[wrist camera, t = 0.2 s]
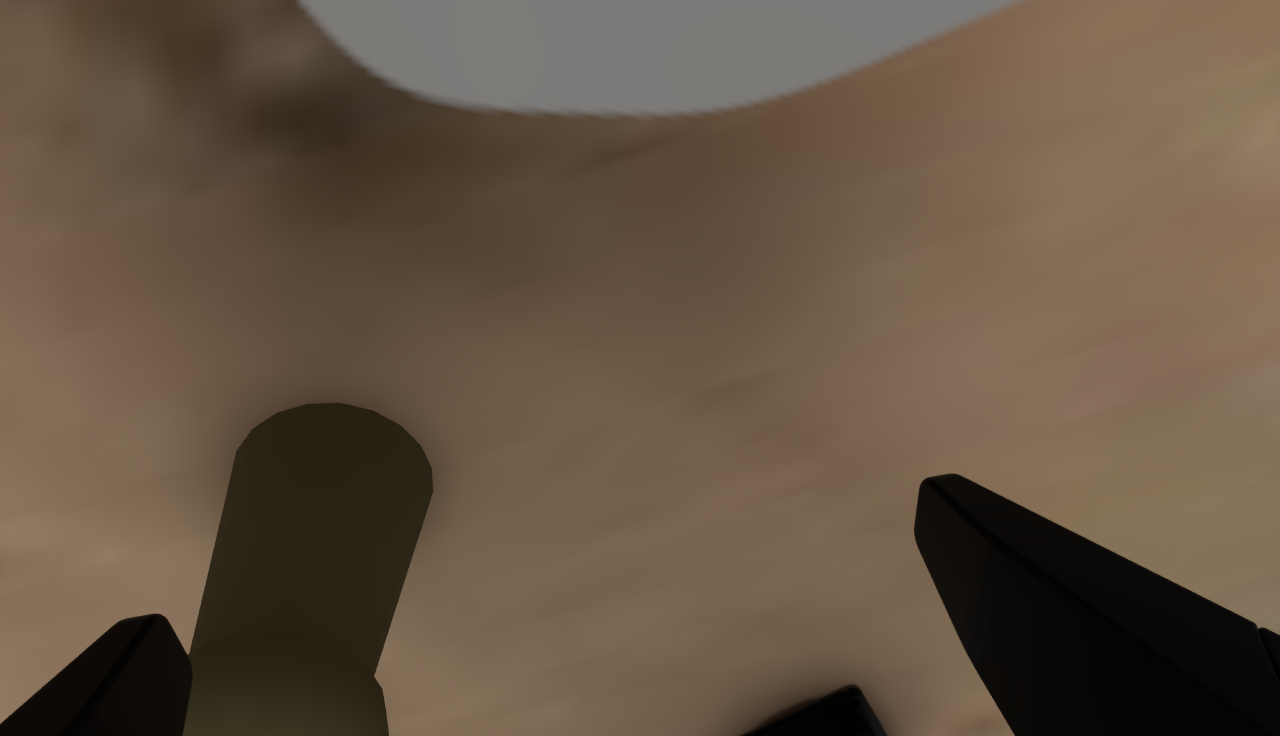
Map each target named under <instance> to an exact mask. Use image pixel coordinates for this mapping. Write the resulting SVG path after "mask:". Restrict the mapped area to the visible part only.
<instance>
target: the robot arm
mask: <svg viewBox="0 0 1280 736" xmlns="http://www.w3.org/2000/svg"><path fill="white" fill-rule="evenodd" d="M914 535H915V540H916V543H917V546H918V549H919V551H920V553H921V555H922V557H923V560H924V562H925V564H926V566H927V568H928V571H929V573H930V575H931V577H932V579H933V582H934V584H935V586H936V588H937V590H938V593H939V595H940V597H941V599H942V601H943V604H944V606H945V608H946V610H947V612H948V615H949V617H950V619H951V621H952V623H953V626H954V628H955V630H956V632H957V634H958V636H959V639H960V641H961V643H962V645H963V647H964V649H965V651H966V653H967V655H968V657H969V658H970V660H971V662H972V664H973V666H974V667H975V669H976V671H977V673H978V674H979V676H980V678H981V679H982V681H983V683H984V684H985V686H986V688H987V690H988V691H989V693H990V695H991V696H992V698H993V700H994V701H995V703H996V705H997V706H998V708H999V710H1000V711H1001V713H1002V715H1003V717H1004V718H1005V720H1006V722H1007V723H1008V725H1009V727H1010V728H1011V730H1012V732H1013V733H1014V735H1015V736H1280V635H1278V634H1276V633H1274V632H1272V631H1270V630H1268V629H1266V628H1263V627H1262V628H1259V629H1258V627H1257V625H1256V624H1255V623H1254V622H1252V621H1250V620H1248V619H1246V618H1244V617H1242V616H1240V615H1238V614H1236V613H1234V612H1232V611H1230V610H1228V609H1226V608H1224V607H1222V606H1220V605H1218V604H1216V603H1214V602H1212V601H1210V600H1208V599H1206V598H1204V597H1202V596H1200V595H1198V594H1196V593H1194V592H1192V591H1190V590H1188V589H1186V588H1184V587H1182V586H1180V585H1178V584H1176V583H1174V582H1172V581H1170V580H1168V579H1166V578H1164V577H1162V576H1160V575H1158V574H1156V573H1154V572H1152V571H1150V570H1148V569H1146V568H1144V567H1142V566H1140V565H1138V564H1136V563H1134V562H1132V561H1130V560H1128V559H1126V558H1124V557H1122V556H1120V555H1118V554H1116V553H1114V552H1112V551H1110V550H1108V549H1106V548H1104V547H1102V546H1100V545H1098V544H1096V543H1094V542H1092V541H1090V540H1088V539H1086V538H1084V537H1082V536H1080V535H1078V534H1076V533H1074V532H1072V531H1070V530H1068V529H1066V528H1064V527H1062V526H1060V525H1058V524H1056V523H1054V522H1052V521H1050V520H1048V519H1046V518H1044V517H1042V516H1040V515H1038V514H1036V513H1035V512H1033V511H1031V510H1029V509H1027V508H1025V507H1023V506H1021V505H1019V504H1017V503H1015V502H1013V501H1011V500H1009V499H1007V498H1005V497H1003V496H1001V495H999V494H997V493H995V492H993V491H991V490H989V489H987V488H985V487H983V486H981V485H979V484H977V483H975V482H973V481H971V480H969V479H967V478H965V477H963V476H960V475H958V474H944V475H939V476H933V477H928V478H926V479H924V480H923V481H922V483H921V484H920V488H919V494H918V502H917V509H916V517H915V524H914ZM192 681H193V671H192V665H191V661H190V659H189V657H188V655H187V653H186V651H185V650H184V648H183V646H182V644H181V642H180V641H179V639H178V637H177V635H176V633H175V632H174V630H173V628H172V626H171V624H170V623H169V621H168V620H167V618H166V617H164V616H163V615H161V614H149V615H143V616H137V617H132V618H126V619H124V620H121V621H119V622H117V623H116V624H115V625H113V626H112V627H111V628H110V629H109V630H108V631H106V632H105V633H104V634H103V635H102V636H101V637H99V638H98V639H97V640H96V641H95V642H94V643H93V644H91V645H90V646H89V647H88V648H87V649H86V650H85V651H83V652H82V653H81V654H80V655H79V656H78V657H77V658H75V659H74V660H73V661H72V662H71V663H70V664H69V665H67V666H66V667H65V668H64V669H63V670H62V671H60V672H59V673H58V674H57V675H56V676H55V677H54V678H52V679H51V680H50V681H49V682H48V683H47V684H46V685H44V686H43V687H42V688H41V689H40V690H39V691H38V692H36V693H35V694H34V695H33V696H32V697H31V698H29V699H28V700H27V701H26V702H25V703H24V704H23V705H21V706H20V707H19V708H18V709H17V710H16V711H15V712H13V713H12V714H11V715H10V716H9V717H8V718H7V719H5V720H4V721H3V722H2V723H1V724H0V736H183V732H184V727H185V721H186V716H187V710H188V704H189V699H190V693H191V688H192ZM751 736H887V734H886V733H885V731H884V729H883V727H882V726H881V724H880V722H879V721H878V719H877V717H876V715H875V714H874V712H873V710H872V708H871V707H870V705H869V703H868V701H867V700H866V698H865V696H864V694H863V693H862V691H861V690H860V689H858V688H851V689H848V690H846V691H844V692H842V693H840V694H837V695H835V696H833V697H831V698H829V699H827V700H825V701H823V702H820V703H818V704H816V705H814V706H812V707H810V708H808V709H806V710H804V711H801V712H799V713H797V714H795V715H793V716H791V717H789V718H787V719H784V720H782V721H780V722H778V723H776V724H774V725H772V726H770V727H768V728H765V729H763V730H761V731H759V732H757V733H755V734H753V735H751Z"/></svg>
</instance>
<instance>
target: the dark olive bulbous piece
mask: <svg viewBox="0 0 1280 736" xmlns="http://www.w3.org/2000/svg"><path fill="white" fill-rule="evenodd" d="M432 493H433V484H432V469H431V466H430V464H429V462H428V460H427V458H426V456H425V454H424V452H423V450H422V448H421V446H420V445H419V444H418V443H417V442H416V441H415V440H414V439H413V438H412V437H411V436H410V435H409V434H408V433H407V432H406V431H405V430H404V429H403V428H402V427H401V426H400V425H398V424H396V423H394V422H392V421H391V420H389V419H387V418H385V417H383V416H381V415H379V414H377V413H376V412H374V411H370V410H366V409H362V408H357V407H353V406H349V405H345V404H307V405H303V406H300V407H297V408H293V409H290V410H286V411H283V412H280V413H276V414H275V415H273V416H272V417H270V418H269V419H267V420H266V421H264V422H263V423H261V424H260V425H258V426H257V427H255V428H254V429H252V431H251V432H250V433H249V435H248V436H247V438H246V439H245V440H244V442H243V443H242V444H241V446H240V447H239V449H238V450H237V452H236V456H235V461H234V465H233V469H232V473H231V478H230V482H229V486H228V490H227V495H226V499H225V503H224V508H223V512H222V516H221V520H220V525H219V529H218V533H217V538H216V542H215V546H214V550H213V555H212V559H211V563H210V568H209V572H208V576H207V580H206V585H205V589H204V593H203V597H202V602H201V606H200V610H199V615H198V619H197V623H196V627H195V632H194V636H193V640H192V645H191V649H190V653H189V654H188V657H189V659H190V661H191V665H192V671H193V681H192V688H191V693H190V699H189V704H188V710H187V716H186V721H185V727H184V732H183V736H389V731H388V723H387V715H386V708H385V702H384V696H383V690H382V688H381V686H380V685H379V683H378V682H377V680H376V679H375V677H374V675H375V672H376V669H377V665H378V662H379V659H380V656H381V653H382V650H383V647H384V644H385V640H386V637H387V634H388V631H389V628H390V625H391V622H392V618H393V615H394V612H395V609H396V606H397V603H398V600H399V596H400V593H401V590H402V587H403V584H404V581H405V578H406V575H407V571H408V568H409V565H410V562H411V559H412V556H413V553H414V549H415V546H416V543H417V540H418V537H419V534H420V531H421V528H422V524H423V521H424V518H425V515H426V512H427V509H428V506H429V502H430V499H431V496H432Z"/></svg>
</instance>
